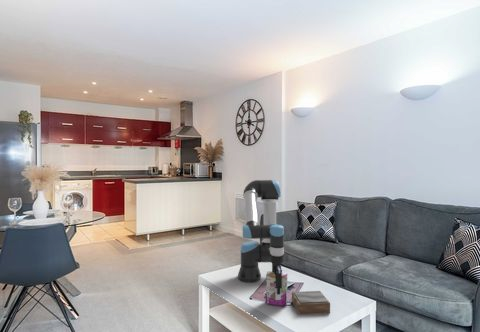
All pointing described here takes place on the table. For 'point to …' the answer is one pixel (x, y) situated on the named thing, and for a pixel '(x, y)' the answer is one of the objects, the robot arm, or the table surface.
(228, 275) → the table surface
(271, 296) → the candy bar box
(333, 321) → the table surface
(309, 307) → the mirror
